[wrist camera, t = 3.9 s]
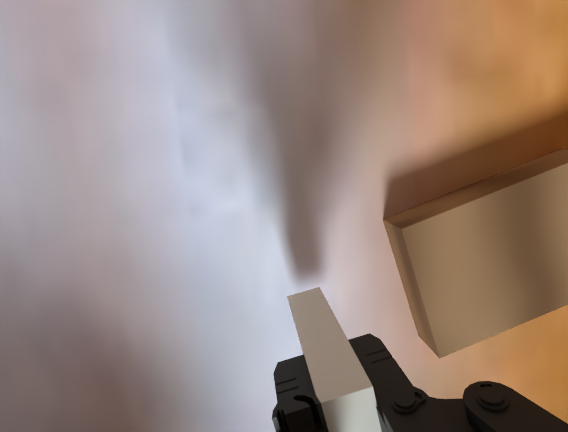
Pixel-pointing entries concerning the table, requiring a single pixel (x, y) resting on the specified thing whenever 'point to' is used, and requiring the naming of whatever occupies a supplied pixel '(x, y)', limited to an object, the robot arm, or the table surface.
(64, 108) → the table surface
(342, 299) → the table surface
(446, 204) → the beige rectangular box
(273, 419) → the robot arm
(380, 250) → the table surface
